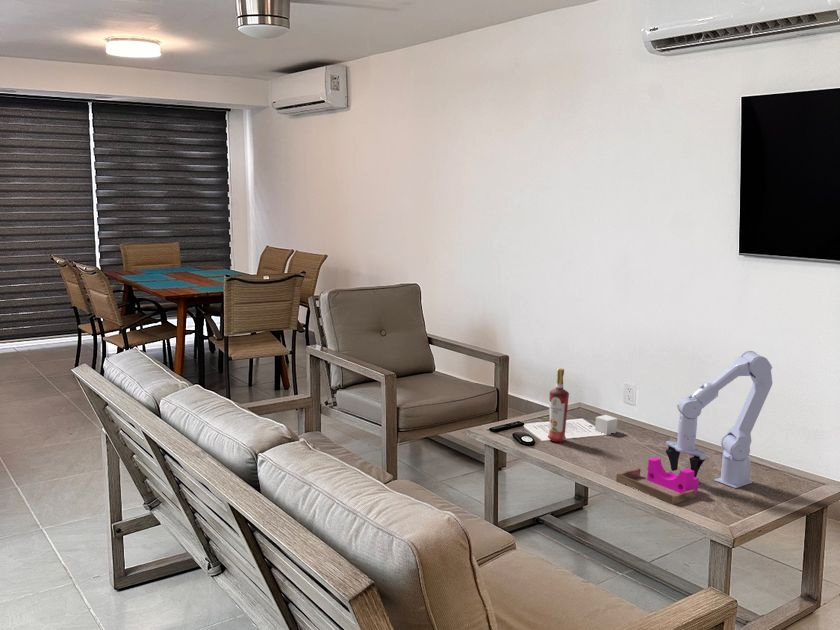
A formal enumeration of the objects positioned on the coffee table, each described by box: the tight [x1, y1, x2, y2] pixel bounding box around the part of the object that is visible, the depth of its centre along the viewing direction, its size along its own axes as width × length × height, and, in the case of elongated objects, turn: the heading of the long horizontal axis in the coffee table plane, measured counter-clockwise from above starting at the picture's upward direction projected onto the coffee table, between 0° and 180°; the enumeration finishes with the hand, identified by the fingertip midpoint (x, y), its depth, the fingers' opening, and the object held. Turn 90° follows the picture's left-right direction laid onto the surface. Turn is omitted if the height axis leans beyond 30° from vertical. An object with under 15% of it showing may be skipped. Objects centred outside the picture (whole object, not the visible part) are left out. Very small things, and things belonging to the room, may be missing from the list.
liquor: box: [547, 368, 570, 443], centre depth 292 cm, size 7×7×28 cm
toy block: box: [646, 457, 699, 494], centre depth 250 cm, size 15×6×8 cm, turn 35°
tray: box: [615, 467, 696, 505], centre depth 247 cm, size 11×23×2 cm, turn 34°
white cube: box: [594, 414, 618, 436], centre depth 306 cm, size 6×6×6 cm
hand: (683, 473), depth 255 cm, fingers open, 7 cm apart
